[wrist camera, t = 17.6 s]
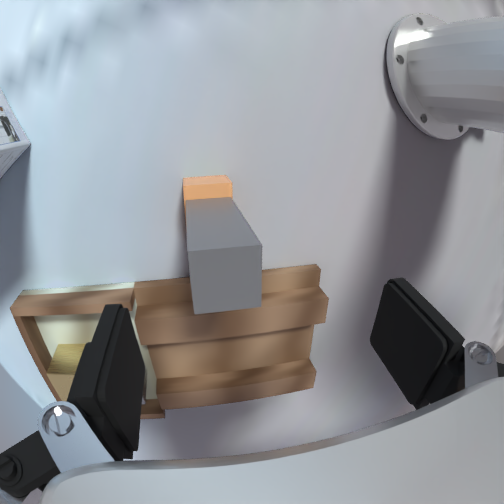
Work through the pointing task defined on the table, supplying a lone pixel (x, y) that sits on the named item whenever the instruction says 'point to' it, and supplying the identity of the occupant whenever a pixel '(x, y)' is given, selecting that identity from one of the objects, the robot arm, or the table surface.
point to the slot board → (190, 336)
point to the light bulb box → (10, 136)
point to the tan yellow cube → (64, 367)
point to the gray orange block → (220, 248)
